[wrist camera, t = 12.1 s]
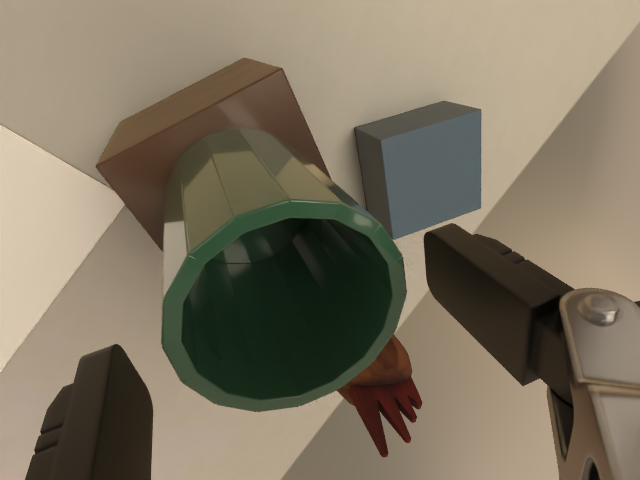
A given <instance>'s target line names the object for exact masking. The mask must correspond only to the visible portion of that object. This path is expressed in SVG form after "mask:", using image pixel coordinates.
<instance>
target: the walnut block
mask: <svg viewBox="0 0 640 480" xmlns="http://www.w3.org/2000/svg"><path fill="white" fill-rule="evenodd" d="M238 127H243V128H254V129H259V130H263V131H266V132H269V133H271V134H273V135H275V136H277V137H279V138H281V139H282V140H284V141H285V142H287V143H288V144H289V145H291V146H293V147H294V148H296V149H297V150H298V151H299V152H300V153H301V154H302V155H304V156H305V157H306V158H307V159H308V160H309V161H310V162H311V163H313V164H314V165H315V166H316V167H317V168H318V169H319V170H321V171H322V172H323V173H324V174H325V175H326V176H327V177H329V178H330V179H331V177H330V175H329V173H328V171H327V168H326V166H325V164H324V161H323V159H322V157H321V155H320V152H319V150H318V148H317V146H316V143H315V141H314V139H313V136H312V134H311V132H310V130H309V127H308V125H307V123H306V120H305V118H304V116H303V114H302V111H301V109H300V107H299V105H298V102H297V100H296V98H295V95H294V93H293V91H292V89H291V86H290V84H289V82H288V80H287V77H286V75H285V73H284V70H283V69H282V68H279V67H276V66H272V65H268V64H265V63H261V62H258V61H254V60H251V59H247V58H243V59H241V60H239V61H237V62H235V63H233V64H231V65H229V66H227V67H225V68H224V69H222V70H220V71H218V72H216V73H214V74H212V75H210V76H208V77H206V78H204V79H202V80H200V81H198V82H197V83H195V84H193V85H191V86H189V87H187V88H185V89H183V90H181V91H179V92H177V93H175V94H173V95H171V96H170V97H168V98H166V99H164V100H162V101H160V102H158V103H156V104H154V105H152V106H150V107H148V108H146V109H144V110H143V111H141V112H139V113H137V114H135V115H133V116H131V117H129V118H127V119H125V120H123V121H121V122H120V123H119V125H118V127H117V128H116V130H115V132H114V134H113V136H112V137H111V139H110V141H109V143H108V145H107V146H106V148H105V150H104V152H103V154H102V155H101V157H100V159H99V161H98V163H97V164H96V168H97V170H98V171H99V172H100V173H101V175H102V176H103V177H104V178H105V180H106V181H107V182H108V184H109V185H110V186H111V187H112V189H113V190H114V191H115V192H116V194H117V195H118V196H119V197H120V199H121V200H122V201H123V202H124V204H125V205H126V206H127V207H128V209H129V210H130V211H131V213H132V214H133V215H134V216H135V218H136V219H137V220H138V221H139V223H140V224H141V225H142V226H143V228H144V229H145V230H146V231H147V233H148V234H149V235H150V236H151V238H152V239H153V240H154V242H155V243H156V244H157V245H158V247H159V248H160V249H161V250H162V252H163V235H164V193H165V186H166V183H167V179H168V176H169V174H170V172H171V169H172V167H173V166H174V164H175V162H176V161H177V159H178V158H179V157H180V156H181V154H182V153H183V152H184V151H185V150H186V149H187V148H188V147H189V146H190V145H192V144H193V143H195V142H196V141H197V140H199V139H200V138H202V137H204V136H206V135H208V134H210V133H213V132H216V131H219V130H223V129H228V128H238Z"/></svg>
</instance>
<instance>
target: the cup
mask: <svg viewBox="0 0 640 480" xmlns="http://www.w3.org/2000/svg"><path fill="white" fill-rule="evenodd" d="M406 293H407V289H406V280H405V271H404V263H403V257H402V254H401V252H400V251H399V249H398V248H397V246H396V245H395V243H394V242H393V240H392V239H391V237H390V236H389V234H388V233H387V231H386V230H385V228H384V227H383V225H382V224H381V223H380V222H379V221H377V220H376V219H375V218H374V217H373V216H372V215H371V214H369V213H368V212H367V211H366V210H365V209H364V208H363V207H362V206H360V205H359V204H358V203H357V202H356V201H355V200H354V199H352V198H351V197H350V196H349V195H348V194H347V193H346V192H344V191H343V190H342V189H341V188H340V187H339V186H338V185H336V184H335V183H334V182H333V181H332V180H331V179H330V178H329V177H327V176H326V175H325V174H324V173H323V172H322V171H321V170H319V169H318V168H317V167H316V166H315V165H314V164H313V163H311V162H310V161H309V160H308V159H307V158H306V157H305V156H304V155H302V154H301V153H300V152H299V151H298V150H297V149H296V148H294V147H293V146H291V145H289V144H288V143H287V142H285V141H284V140H282V139H281V138H279V137H277V136H275V135H273V134H271V133H269V132H266V131H263V130H259V129H254V128H243V127H238V128H228V129H223V130H219V131H216V132H213V133H210V134H208V135H206V136H204V137H202V138H200V139H199V140H197V141H196V142H195V143H193V144H192V145H190V146H189V147H188V148H187V149H186V150H185V151H184V152H183V153H182V154H181V156H180V157H179V158H178V159H177V161H176V162H175V164H174V166H173V167H172V169H171V172H170V174H169V176H168V179H167V183H166V186H165V193H164V235H163V280H162V325H161V344H162V348H163V350H164V352H165V354H166V356H167V357H168V359H169V361H170V363H171V365H172V366H173V368H174V370H175V372H176V374H177V375H178V377H179V379H180V381H181V382H182V383H183V384H185V385H186V386H188V387H189V388H191V389H192V390H194V391H195V392H197V393H199V394H200V395H202V396H203V397H205V398H206V399H208V400H209V401H211V402H212V403H214V404H217V405H221V406H226V407H231V408H237V409H242V410H248V411H253V412H256V411H257V412H262V411H269V410H277V409H284V408H292V407H298V406H299V405H300V406H302V405H304V404H306V403H309V402H311V401H313V400H316V399H318V398H320V397H323V396H325V395H327V394H330V393H332V392H334V391H337V390H338V389H340V388H342V387H343V386H344V385H345V384H347V383H348V382H349V381H351V380H352V379H353V378H354V377H356V376H357V375H358V374H359V373H361V372H362V371H363V370H365V369H366V368H367V367H368V366H370V365H371V363H373V362H374V360H375V359H376V357H377V356H378V355H379V353H380V352H381V351H382V349H383V348H384V346H385V345H386V344H387V342H388V341H389V339H390V338H391V337H392V335H393V334H394V332H395V330H396V328H397V325H398V322H399V318H400V315H401V312H402V308H403V305H404V302H405V299H406Z"/></svg>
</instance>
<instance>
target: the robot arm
mask: <svg viewBox="0 0 640 480" xmlns="http://www.w3.org/2000/svg"><path fill="white" fill-rule="evenodd" d="M424 251H425V264H426V278H427V283H428V286H429V289H430V291H431V293H432V295H433V296H434V298H435V299H436V300H437V301H438V302H439V303H440V304H441V305H442V306H443V307H444V308H445V309H446V310H447V311H448V312H449V313H450V314H451V315H452V316H453V317H454V318H455V319H456V320H457V321H458V322H459V323H460V324H461V325H462V326H463V327H464V328H465V329H466V330H467V331H468V332H469V333H470V334H471V335H472V336H473V337H474V338H475V339H476V340H477V341H478V342H479V343H480V344H481V345H482V346H483V347H484V348H485V349H486V350H487V351H488V352H489V353H490V354H491V355H492V356H493V357H494V358H495V359H496V360H497V361H498V362H499V363H500V364H502V366H503V367H504V368H505V369H506V370H507V371H508V372H509V373H510V374H511V375H512V376H513V377H514V378H515V379H516V380H517V381H518V382H519V383H520V384H521V385H522V386H524V385H526V384H529V383H531V382H533V381H535V380H537V379H539V378H541V379H542V380H543V381H544V382H545V383H546V384H547V385H548V387H547V399H548V406H549V412H550V417H551V425H552V430H553V437H554V444H555V450H556V456H557V463H558V469H559V480H640V301H637V302H633V301H632V300H630V299H628V298H627V297H625V296H623V295H620V294H618V293H615V292H612V291H608V290H603V289H598V288H597V289H596V288H582V289H576V290H575V289H573V288H572V287H570V286H568V285H567V284H565V283H564V282H562V281H561V280H559V279H558V278H556V277H554V276H553V275H551V274H550V273H548V272H546V271H545V270H543V269H542V268H540V267H539V266H537V265H535V264H534V263H532V262H530V261H529V260H525V259H524V257H523V256H521V255H520V254H518V253H516V252H512V250H511V249H510V248H508V247H507V246H505V245H504V244H502V243H500V242H499V241H497V240H495V239H492V238H489V237H485V236H482V235H479V234H474V235H471V234H470V233H468V232H467V231H465V230H464V229H462V228H461V227H459V226H458V225H456V224H453V223H451V224H448V225H445V226H442V227H440V228H437V229H434V230H431V231H429V232H426V233H425V235H424ZM152 430H153V405H152V400H151V397H150V393H149V391H148V389H147V387H146V385H145V383H144V382H143V380H142V378H141V377H140V375H139V374H138V372H137V370H136V369H135V367H134V366H133V364H132V362H131V361H130V359H129V358H128V356H127V354H126V353H125V351H124V350H123V348H122V347H121V346H120V345H118V344H115V345H112V346H109V347H107V348H104V349H101V350H98V351H96V352H93V353H90V354H87V355H84V356H82V357H81V359H80V361H79V364H78V368H77V372H76V375H75V379H74V383H73V384H70V385H67V386H65V387H63V388H62V389H61V391H60V392H59V394H58V395H57V396H56V398H55V399H54V401H53V402H52V403H51V405H50V406H49V408H48V409H47V412H46V415H45V418H44V421H43V424H42V428H41V431H40V432H41V435H40V436H39V437H38V440H37V443H36V447H35V450H34V451H35V455H33V456H32V459H31V462H30V466H29V469H28V472H27V475H26V478H25V480H151V459H152Z"/></svg>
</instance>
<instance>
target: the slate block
mask: <svg viewBox="0 0 640 480" xmlns="http://www.w3.org/2000/svg"><path fill="white" fill-rule="evenodd" d="M355 134H356V140H357V147H358V153H359V159H360V166H361V172H362V179H363V185H364V192H365V198H366V205H367V211H368V213H369V214H371V215H372V216H373V217H374V218H375V219H376V220H377V221H379V222H380V223H381V224H382V225H383V227H384V228H385V230H386V231H387V233H388V234H389V236H390V237H391V239H393V240H394V239H397V238H400V237H403V236H405V235H408V234H411V233H414V232H417V231H419V230H422V229H425V228H428V227H430V226H433V225H436V224H439V223H441V222H444V221H447V220H450V219H452V218H455V217H458V216H461V215H463V214H466V213H469V212H472V211H474V210H477V209H480V208H481V109H477V108H473V107H469V106H464V105H460V104H456V103H451V102H447V101H442V102H439V103H436V104H432V105H429V106H425V107H422V108H419V109H415V110H412V111H409V112H405V113H402V114H399V115H395V116H392V117H389V118H385V119H382V120H379V121H375V122H372V123H369V124H365V125H362V126H358V127H355Z"/></svg>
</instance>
